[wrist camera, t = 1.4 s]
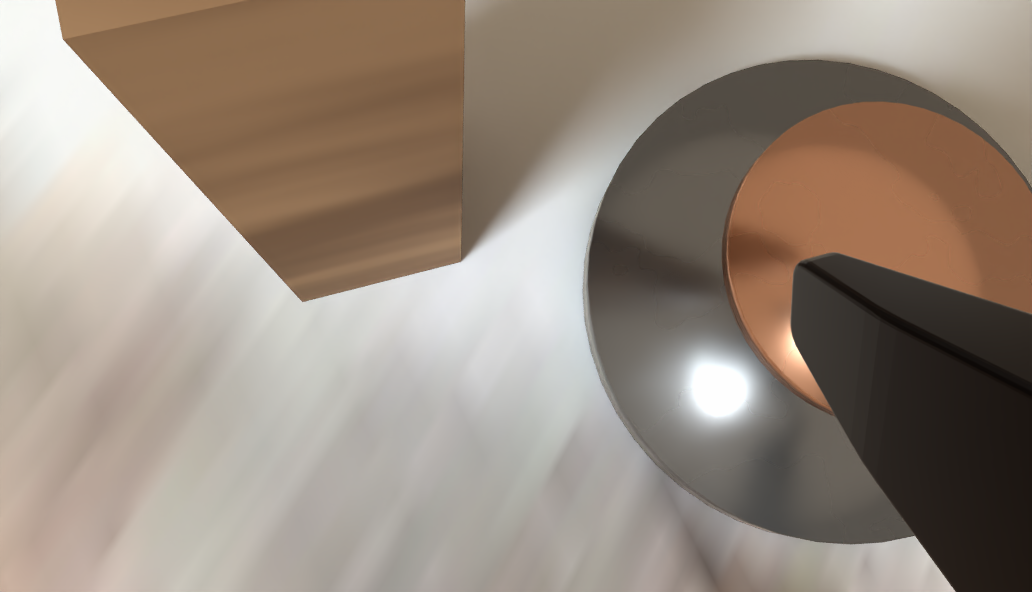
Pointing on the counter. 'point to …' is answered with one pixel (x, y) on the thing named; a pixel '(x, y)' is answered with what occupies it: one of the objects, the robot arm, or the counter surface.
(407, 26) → the walnut stick
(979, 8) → the counter surface
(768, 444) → the copper topped disc
